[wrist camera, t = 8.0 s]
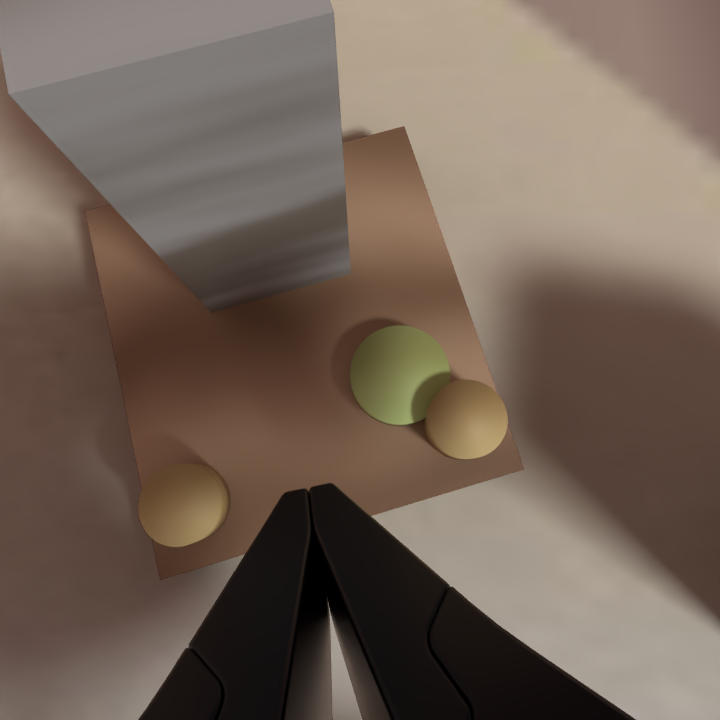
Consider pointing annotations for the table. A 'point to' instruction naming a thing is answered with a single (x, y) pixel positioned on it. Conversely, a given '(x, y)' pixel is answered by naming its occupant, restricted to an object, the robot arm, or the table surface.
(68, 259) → the table surface
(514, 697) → the robot arm
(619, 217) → the table surface
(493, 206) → the table surface
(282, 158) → the wooden base with pillar
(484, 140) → the table surface
